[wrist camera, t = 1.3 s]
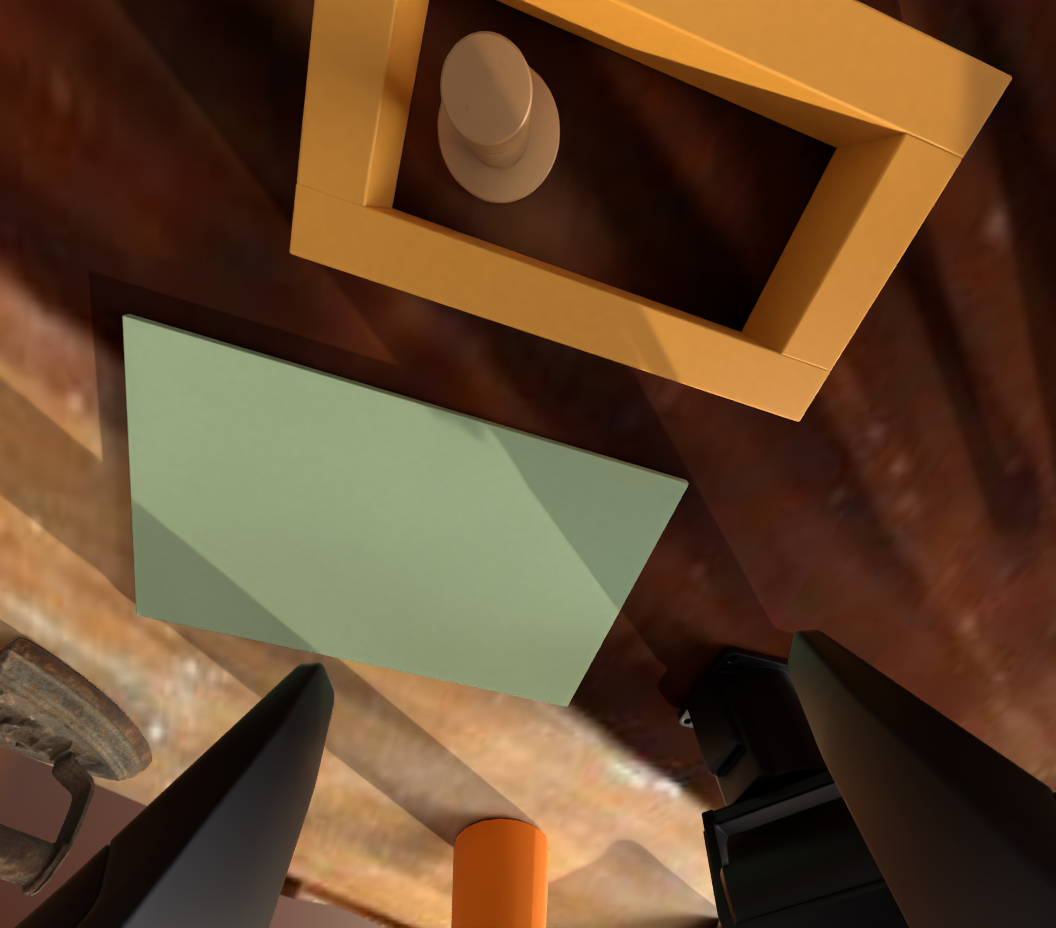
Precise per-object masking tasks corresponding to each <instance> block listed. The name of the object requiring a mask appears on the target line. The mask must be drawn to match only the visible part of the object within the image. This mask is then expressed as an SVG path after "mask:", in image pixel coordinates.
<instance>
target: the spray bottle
mask: <svg viewBox="0 0 1056 928" xmlns="http://www.w3.org/2000/svg"><path fill="white" fill-rule="evenodd" d="M548 865H549V845H548V843H547V840H546V837H545V835H544V834H543V833H542V832H540V831H539V830H538V829H537V828H536V827H534V826H533V825H530V824H527V823H524V822H522V821H519V820H511V819H501V818H500V819H492V820H484V821H481V822H478V823H476V824H473V825H471V826H468V827H467V828H466V829H464V830H463V831H462V832H461V833H460V834H459V835H458V836H457V838H456V841H455V846H454V859H453V892H452V925H451V928H546V915H547V890H548Z"/></svg>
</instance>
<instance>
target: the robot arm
mask: <svg viewBox="0 0 1056 928" xmlns="http://www.w3.org/2000/svg"><path fill="white" fill-rule="evenodd" d="M333 705H334V691H333V688H332V685H331V683H330V680H329V677H328V675H327V672H326V670H325V667H324V666H323V665H322V664H321V663H309V664H301V665H299V666H298V667H296V668H295V669H294V670H293V671H292V672H291V673H290V674H289V675H288V676H286V677H285V678H284V679H283V680H282V681H281V682H280V683H279V684H278V685H277V686H276V687H275V688H274V689H273V690H271V691H270V692H269V693H268V694H267V695H266V696H265V697H264V698H263V699H262V700H261V701H260V702H259V703H258V704H256V705H255V706H254V707H253V708H252V709H251V710H250V711H249V712H248V713H247V714H246V715H245V716H244V717H243V718H241V719H240V720H239V721H238V722H237V723H236V724H235V725H234V726H233V727H232V728H231V729H230V730H229V731H228V732H226V733H225V734H224V735H223V736H222V737H221V738H220V739H219V740H218V741H217V742H216V743H215V744H214V745H213V746H211V747H210V748H209V749H208V750H207V751H206V752H205V753H204V754H203V755H202V756H201V757H200V758H199V759H198V760H196V761H195V762H194V763H193V764H192V765H191V766H190V767H189V768H188V769H187V770H186V771H185V772H184V773H183V774H181V775H180V776H179V777H178V778H177V779H176V780H175V781H174V782H173V783H172V784H171V785H170V786H169V787H168V788H166V789H165V790H164V791H163V792H162V793H161V794H160V795H159V796H158V797H157V798H156V799H155V800H154V801H153V802H151V803H150V804H149V805H148V806H147V807H146V808H145V809H144V810H143V811H142V812H141V813H140V814H139V815H138V816H137V817H136V818H134V819H133V820H132V821H131V822H130V823H129V824H128V825H127V826H126V827H125V828H124V829H123V830H122V831H120V832H119V833H118V834H117V835H116V836H115V837H114V838H113V839H112V840H111V843H110V844H108V845H105V846H104V847H103V848H102V849H101V850H100V851H99V852H98V853H97V854H96V855H94V856H93V857H92V858H91V859H90V860H89V861H88V862H87V863H86V864H85V865H84V866H83V867H82V868H81V869H80V870H79V871H77V872H76V873H75V874H74V875H73V876H72V877H71V878H69V879H68V880H67V881H66V882H65V883H64V884H63V885H62V886H61V887H60V888H58V889H57V890H56V891H55V892H54V893H53V894H52V895H51V896H50V897H49V898H47V899H46V900H45V901H44V902H43V903H42V904H41V905H40V906H39V907H38V908H37V909H35V910H34V911H33V912H32V913H31V914H29V915H28V916H27V917H26V918H25V919H24V920H22V921H21V922H20V923H19V924H18V925H17V926H16V927H14V928H269V926H270V923H271V920H272V917H273V913H274V910H275V907H276V904H277V901H278V898H279V895H280V892H281V889H282V886H283V883H284V880H285V877H286V874H287V871H288V868H289V865H290V862H291V859H292V856H293V853H294V850H295V847H296V844H297V841H298V838H299V835H300V832H301V828H302V825H303V822H304V819H305V816H306V813H307V810H308V807H309V804H310V801H311V798H312V794H313V791H314V788H315V784H316V780H317V776H318V772H319V767H320V763H321V758H322V754H323V750H324V745H325V741H326V736H327V732H328V727H329V723H330V718H331V714H332V709H333ZM677 716H678V720H679V723H680V724H681V725H682V726H686V727H690V728H694V731H695V734H696V737H697V740H698V743H699V746H700V749H701V752H702V755H703V758H704V761H705V764H706V767H707V770H708V771H709V773H710V775H713V776H716V779H717V782H718V785H719V788H720V791H721V794H722V797H723V800H724V803H725V806H726V807H724V808H721V809H718V810H715V811H713V810H709V811H706V812H704V813H702V819H703V824H704V830H705V831H704V839H705V845H706V851H707V856H708V862H709V868H710V873H711V879H712V885H713V891H714V896H715V902H716V908H717V913H718V918H719V928H1056V792H1052V790H1051V789H1050V787H1048V786H1047V785H1045V784H1044V783H1042V782H1041V781H1039V780H1038V779H1037V778H1035V777H1034V776H1032V775H1031V774H1029V773H1028V772H1026V771H1025V770H1023V769H1022V768H1020V767H1019V766H1018V765H1016V764H1015V763H1013V762H1012V761H1010V760H1009V759H1007V758H1006V757H1004V756H1003V755H1001V754H1000V753H998V752H997V751H996V750H994V749H993V748H991V747H990V746H988V745H987V744H985V743H984V742H982V741H981V740H979V739H978V738H977V737H975V736H974V735H972V734H971V733H969V732H968V731H966V730H965V729H963V728H962V727H960V726H959V725H957V724H956V723H955V722H953V721H952V720H950V719H949V718H947V717H946V716H944V715H943V714H941V713H940V712H938V711H937V710H936V709H934V708H933V707H931V706H930V705H928V704H927V703H925V702H924V701H922V700H921V699H919V698H918V697H916V696H915V695H914V694H912V693H911V692H909V691H908V690H906V689H905V688H903V687H902V686H900V685H899V684H897V683H896V682H895V681H893V680H892V679H890V678H889V677H887V676H886V675H884V674H883V673H881V672H880V671H878V670H877V669H875V668H874V667H873V666H871V665H870V664H868V663H867V662H865V661H864V660H862V659H861V658H859V657H858V656H856V655H855V654H854V653H852V652H851V651H849V650H848V649H846V648H845V647H843V646H842V645H840V644H839V643H837V642H836V641H834V640H833V639H832V638H830V637H829V636H827V635H826V634H824V633H823V632H820V631H817V630H810V631H798V632H796V633H795V634H794V637H793V640H792V645H791V649H790V654H789V658H788V661H787V660H783V659H779V658H775V657H771V656H767V655H763V654H759V653H755V652H751V651H747V650H742V649H738V648H734V647H729V648H726V649H724V650H723V651H722V652H721V653H720V655H719V656H718V658H717V659H716V661H715V662H714V663H713V665H712V666H711V668H710V669H709V670H708V672H707V673H706V675H705V676H704V678H703V679H702V680H701V682H700V683H699V685H698V686H697V687H696V689H695V690H694V692H693V693H692V694H691V696H690V697H689V699H688V700H687V702H686V703H685V704H684V706H683V707H682V709H681V710H680V711H679V713H678V715H677Z"/></svg>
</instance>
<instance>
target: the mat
mask: <svg viewBox="0 0 1056 928" xmlns="http://www.w3.org/2000/svg"><path fill="white" fill-rule="evenodd" d="M122 319H123V340H124V362H125V383H126V404H127V426H128V447H129V468H130V490H131V511H132V532H133V554H134V575H135V596H136V615H138V616H143V617H148V618H152V619H157V620H162V621H166V622H171V623H176V624H181V625H185V626H190V627H195V628H199V629H204V630H209V631H214V632H218V633H223V634H228V635H232V636H237V637H242V638H246V639H251V640H256V641H261V642H265V643H270V644H275V645H279V646H284V647H289V648H293V649H298V650H303V651H308V652H312V653H317V654H322V655H326V656H331V657H336V658H340V659H345V660H350V661H355V662H359V663H364V664H369V665H373V666H378V667H383V668H387V669H392V670H397V671H402V672H406V673H411V674H416V675H420V676H425V677H430V678H434V679H439V680H444V681H449V682H453V683H458V684H463V685H467V686H472V687H477V688H481V689H486V690H491V691H496V692H500V693H505V694H510V695H514V696H519V697H524V698H528V699H533V700H538V701H543V702H547V703H552V704H557V705H561V706H566V707H567V706H568V704H569V702H570V701H571V699H572V697H573V695H574V693H575V691H576V690H577V688H578V686H579V684H580V682H581V681H582V679H583V677H584V675H585V673H586V671H587V670H588V668H589V666H590V664H591V662H592V660H593V659H594V657H595V655H596V653H597V651H598V649H599V648H600V646H601V644H602V642H603V640H604V638H605V637H606V635H607V633H608V631H609V629H610V627H611V626H612V624H613V622H614V620H615V618H616V616H617V615H618V613H619V611H620V609H621V607H622V605H623V604H624V602H625V600H626V598H627V596H628V594H629V593H630V591H631V589H632V587H633V585H634V583H635V582H636V580H637V578H638V576H639V574H640V572H641V571H642V569H643V567H644V565H645V563H646V561H647V560H648V558H649V556H650V554H651V552H652V550H653V549H654V547H655V545H656V543H657V541H658V539H659V538H660V536H661V534H662V532H663V530H664V529H665V527H666V525H667V523H668V521H669V519H670V518H671V516H672V514H673V512H674V510H675V508H676V507H677V505H678V503H679V501H680V499H681V497H682V496H683V494H684V492H685V490H686V488H687V486H688V484H689V483H688V482H687V480H685V479H681V478H678V477H674V476H671V475H668V474H664V473H661V472H658V471H654V470H651V469H648V468H644V467H641V466H638V465H634V464H631V463H628V462H624V461H621V460H618V459H614V458H611V457H607V456H604V455H601V454H597V453H594V452H591V451H587V450H584V449H581V448H577V447H574V446H571V445H567V444H564V443H561V442H557V441H554V440H551V439H547V438H544V437H541V436H537V435H534V434H530V433H527V432H524V431H520V430H517V429H514V428H510V427H507V426H504V425H500V424H497V423H494V422H490V421H487V420H484V419H480V418H477V417H474V416H470V415H467V414H463V413H460V412H457V411H453V410H450V409H447V408H443V407H440V406H437V405H433V404H430V403H427V402H423V401H420V400H417V399H413V398H410V397H407V396H403V395H400V394H396V393H393V392H390V391H386V390H383V389H380V388H376V387H373V386H370V385H366V384H363V383H360V382H356V381H353V380H350V379H346V378H343V377H340V376H336V375H333V374H329V373H326V372H323V371H319V370H316V369H313V368H309V367H306V366H303V365H299V364H296V363H293V362H289V361H286V360H283V359H279V358H276V357H273V356H269V355H266V354H262V353H259V352H256V351H252V350H249V349H246V348H242V347H239V346H236V345H232V344H229V343H226V342H222V341H219V340H216V339H212V338H209V337H206V336H202V335H199V334H195V333H192V332H189V331H185V330H182V329H179V328H175V327H172V326H169V325H165V324H162V323H159V322H155V321H152V320H149V319H145V318H142V317H139V316H135V315H132V314H126V315H123V316H122Z"/></svg>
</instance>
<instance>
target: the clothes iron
mask: <svg viewBox="0 0 1056 928" xmlns="http://www.w3.org/2000/svg"><path fill="white" fill-rule="evenodd" d="M0 746H3V747H5V748H8V749H10V750H13V751H16V752H18V753H21V754H24V755H26V756H29V757H32V758H35V759H37V760H40V761H43V762H47V763H50V764H53V765H54V766H53V770H52V774H53V775H54V777H55V778H56V779H57V780H58V781H59V782H60V783H61V784H62V785H63V786H64V787H65V788H66V789H67V790H68V791H69V792H70V793H71V795H72V802H71V806H70V809H69V811H68V814H67V816H66V819H65V821H64V824H63V826H62V828H61V831H60V833H59V835H58V838H57V840H56V842H55V843H53V844H52V843H50V842H47V841H44V840H41V839H39V838H37V837H34V836H31V835H28V834H26V833H23V832H21V831H18V830H15V829H12V828H10V827H7V826H4V825H2V824H0V879H3V880H6V881H9V882H12V883H15V884H18V885H22V892H23V894H24V895H29V896H31V895H35V894H36V893H38V892H39V891H40V890H41V889H42V888H43V887H44V886H45V885H46V884H47V883H48V882H49V881H50V880H51V879H52V877H53V876H54V875H55V873H56V872H57V870H58V869H59V867H60V866H61V864H62V862H63V861H64V859H65V858H66V856H67V855H68V853H69V851H70V848H71V846H72V845H73V843H74V841H75V839H76V837H77V834H78V832H79V829H80V827H81V825H82V823H83V821H84V819H85V815H86V812H87V809H88V806H89V804H90V802H91V799H92V797H93V793H94V780H93V778H92V776H96V777H100V778H105V779H109V780H116V781H121V780H125V779H127V778H133V777H135V776H137V775H138V774H139V773H140V772H142V771H144V770H145V769H146V768H147V767H148V766H149V764H150V763H151V761H152V757H151V752H150V749H149V747H148V744H147V742H146V740H145V739H144V737H143V736H142V735H141V733H140V732H139V730H138V729H137V727H136V726H135V725H134V724H133V722H132V721H131V720H130V719H129V718H128V717H127V716H126V715H125V714H124V713H123V711H122V710H121V709H120V708H119V707H118V706H117V705H115V704H114V703H113V702H112V701H111V700H110V699H108V698H107V697H106V696H105V695H104V694H103V693H102V692H100V691H99V690H98V689H97V688H95V687H94V686H93V685H92V684H90V683H89V682H88V681H87V680H86V679H84V678H83V677H81V676H80V675H78V674H77V673H76V672H74V671H73V670H72V669H70V668H69V667H68V666H66V665H65V664H63V663H62V662H60V661H59V660H57V659H56V658H55V657H54V656H52V655H51V654H49V653H48V652H46V651H45V650H43V649H41V648H40V647H38V646H36V645H35V644H33V643H31V642H29V641H27V640H25V639H16V640H15V641H13V642H12V643H11V644H9V645H8V646H6V647H5V648H4V649H3V650H1V651H0ZM91 775H92V776H91Z"/></svg>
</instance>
